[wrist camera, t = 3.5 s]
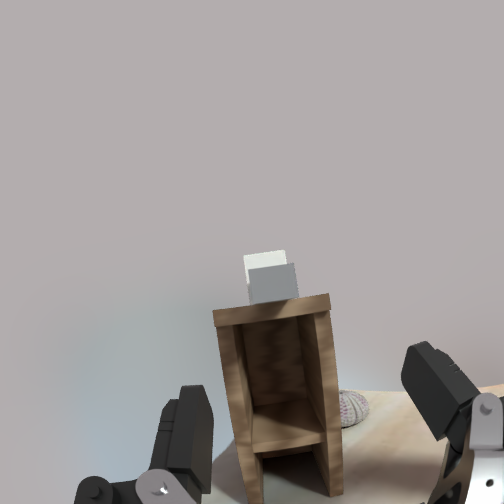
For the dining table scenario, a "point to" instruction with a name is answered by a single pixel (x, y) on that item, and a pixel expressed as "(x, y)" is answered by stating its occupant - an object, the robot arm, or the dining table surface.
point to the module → (270, 277)
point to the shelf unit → (282, 386)
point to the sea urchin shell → (352, 408)
